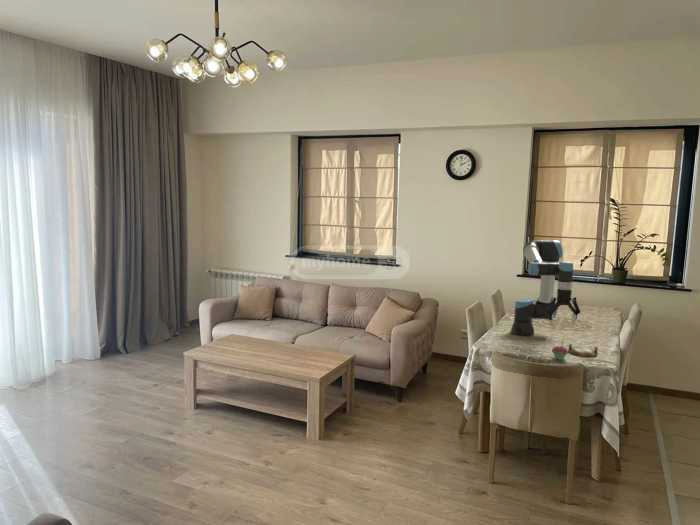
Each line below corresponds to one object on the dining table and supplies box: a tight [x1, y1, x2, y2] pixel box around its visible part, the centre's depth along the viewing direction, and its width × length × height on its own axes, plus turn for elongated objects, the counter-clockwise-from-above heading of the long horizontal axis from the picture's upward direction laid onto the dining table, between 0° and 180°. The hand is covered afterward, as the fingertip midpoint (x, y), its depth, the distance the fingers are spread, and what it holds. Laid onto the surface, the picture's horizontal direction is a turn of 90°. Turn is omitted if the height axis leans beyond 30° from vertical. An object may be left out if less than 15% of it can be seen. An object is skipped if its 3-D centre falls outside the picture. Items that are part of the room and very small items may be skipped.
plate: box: [567, 343, 599, 358], centre depth 313 cm, size 16×16×4 cm
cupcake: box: [551, 338, 569, 361], centre depth 301 cm, size 9×8×12 cm
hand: (562, 325), depth 300 cm, fingers open, 13 cm apart
